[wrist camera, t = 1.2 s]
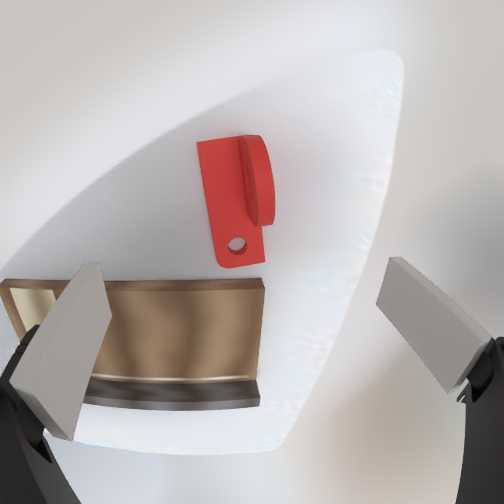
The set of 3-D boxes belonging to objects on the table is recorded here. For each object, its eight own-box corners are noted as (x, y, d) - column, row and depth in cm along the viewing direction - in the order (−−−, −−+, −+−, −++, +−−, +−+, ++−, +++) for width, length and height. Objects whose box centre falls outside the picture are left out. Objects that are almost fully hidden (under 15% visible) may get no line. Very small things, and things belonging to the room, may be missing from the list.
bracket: (197, 142, 22) (193, 146, 15) (248, 134, 23) (268, 135, 16) (218, 264, 27) (224, 312, 20) (262, 256, 28) (283, 301, 21)
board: (45, 369, 30) (35, 393, 25) (5, 278, 23) (-15, 300, 19) (252, 377, 35) (259, 406, 31) (261, 278, 29) (272, 306, 24)
